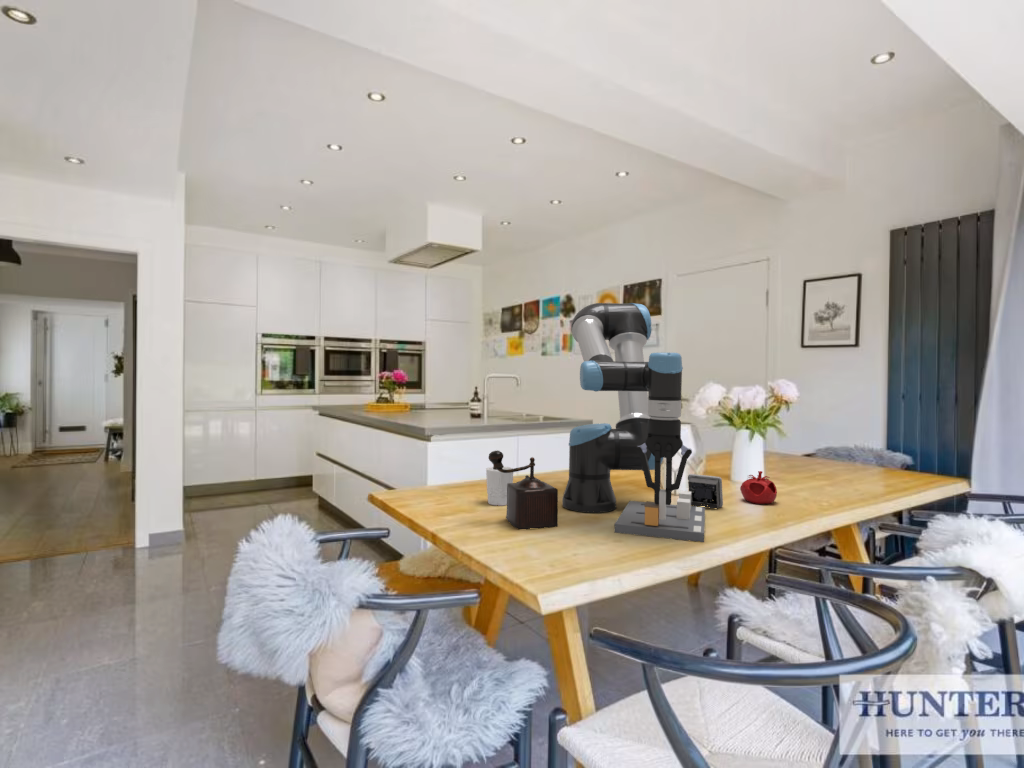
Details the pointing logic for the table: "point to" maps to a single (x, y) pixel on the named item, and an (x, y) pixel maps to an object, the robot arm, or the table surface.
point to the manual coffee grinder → (528, 498)
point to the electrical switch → (705, 490)
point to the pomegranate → (759, 490)
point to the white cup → (498, 485)
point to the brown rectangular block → (651, 513)
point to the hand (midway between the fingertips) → (662, 517)
